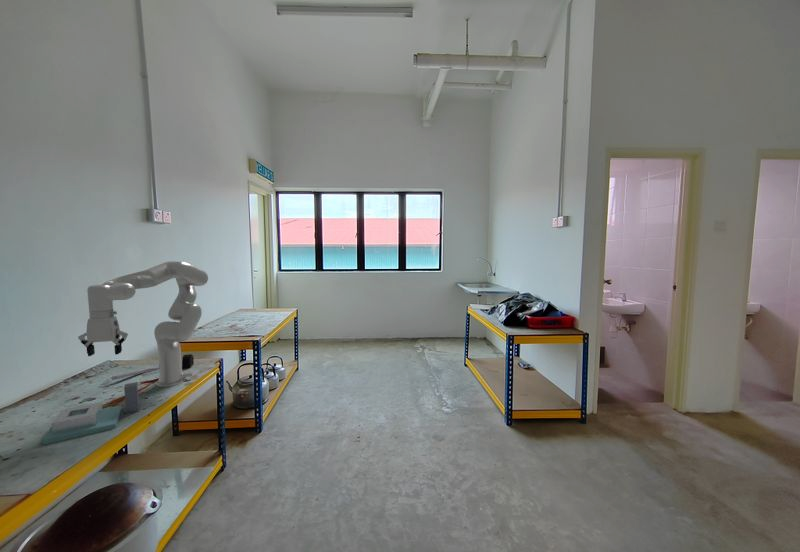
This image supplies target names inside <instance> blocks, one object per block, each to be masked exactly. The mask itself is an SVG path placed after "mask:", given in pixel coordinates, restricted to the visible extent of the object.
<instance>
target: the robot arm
mask: <svg viewBox="0 0 800 552" xmlns="http://www.w3.org/2000/svg"><path fill="white" fill-rule="evenodd" d="M172 279H175V281H176V284H177V286H178V294H177V296H176V297H175V300H174V301H173V303H172V305H171V306H170V308H169V310H168V313H167V315H168V318H169V319H170V320H172V321H170V320H169V321H167V320H166V321H162V322H160V323H158V324H157V325H156V326H155V328H154V332H153V333H154V334H153V335H154V339H155V341H156V346H157V359H158V360H157V361H158V367H159V369H158V371H159V380H158V381H156V383H155V385H156V387H159V388H168V387H169V388H170V387H174V386H178V385H180V384H182V383H184V382H185V381H186V380H187V377H193V371H192V372H191V371H188V372H187V371H186V372H184V369H182V353H181V352H182V350H181V349H182V348H181V347H182V346H181V344H180V343H183V342H187V341H188V340H189V339H190V338H191V337H192V335H193V334H194V331H195V330H196V328H197V326H198V324H199V322H200V319H201V317H202V313H203V312H202V310H203V309H202V307H201V306H200V305H199V304H197V303H195V302H196V300H197V291H196V288H195V287H202V286H205V285H207V283H208V281H209V276H208V274H207V272H206V271H205V270H203V269H201V268H199V267H197V266H194V265H192V264H190V263H188V262H185V261H171V260H170V261H165V262H162V263H159V264H157V265H155V266H153V267H149V268H148V269H145V270H144V269H143V270H140V271H136V272H133V273H130V274H126V275H125V274H124V275H122V276H121V275H120V276H119V277H115V278H112V279H110V280H108V281H105V282H104V283H102V284H94V285H89V286H88V287H87V300H88V301H87V303H88V313H89V318H87V323H86V332H84V333H83V334H80V335H79V336H78V337H77V338H78V340H79V341H80V343H81V344H82V345H84V347H85V348H86V354H87V356H88V357H92V356H94V355H95V345H94V343H100V342H101V343H103V342H106V343H107V342H112V343H114V344H115V345H114V346H113V347H114V355H116V356H117V355H119V354H121V353H122V350H123V347H122V344H123V342H125V341H126V339H127V337H128V336H129V334H128V333H127V332H125V331H122V330H121V329H120V324H119V321H118V317H117V314H118V312H117V311H116V310H114V304H113V303H114V301H126V300H130V299H132V298H133V297H135V294H136V290H138V289H139V290H140V289H142V290H143V289H148V288H153V287H156V286H158V285H161V284H163V283H164V282H167V281H170V280H172Z"/></svg>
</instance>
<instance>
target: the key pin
mask: <svg viewBox="0 0 800 552" xmlns="http://www.w3.org/2000/svg"><path fill="white" fill-rule="evenodd" d="M123 389H124V400H125V403H124V405H125V414H126V415H129V413H130V414H134V413H138V412H139V410H140V401H139V398H140V396H139V386H138V382H137V381H136V382H131V383H125V384H124V387H123Z"/></svg>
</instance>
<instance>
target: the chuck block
mask: <svg viewBox="0 0 800 552" xmlns="http://www.w3.org/2000/svg"><path fill="white" fill-rule="evenodd" d="M123 410H124V409H123V404H120V405H116V406H111V407H106V408H105V407H104V408H103V403H102V402H97V403H96V402H95V403H91V404H86V405H82V406H75V407H69V408H66V409H61V410H60V412H59V413H58V414H57V416H55V418H54V420H53V421H52V423H51V426H50V428H49V429H48V431H47V432H46V433H45V435H44V436H43V438H42V439H41V443H42V446H43V445H47V444H51V443H52V444H53V443H58V442H62V441H65V440H70V439H73V438H77V437H78V438H79V437H83V436H86V435H90V434H91V433H92V434H95V432H96V433H99V432H100V433H101V432H103V431H104V430H105V431H109V430H112V429H113V430H114V429H116V428H117V426H116V425H117V424H118V422H119V419H120V418H121V417H120V416H121V414H122V412H121V411H123Z"/></svg>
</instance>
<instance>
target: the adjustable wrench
mask: <svg viewBox="0 0 800 552" xmlns="http://www.w3.org/2000/svg"><path fill="white" fill-rule="evenodd" d="M158 370H159V366H155V365H152V366H148V367H147V366H146V367H145V368H142V369H138V370H135V371H130V372H126V373H125V372H124V373H122V374H117V375H114V376H113V375H112V376H111V381H114V380H119V379H124V378H127V377H131V376H136V375H139V374H143V373H148V372H153V371H158Z"/></svg>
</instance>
